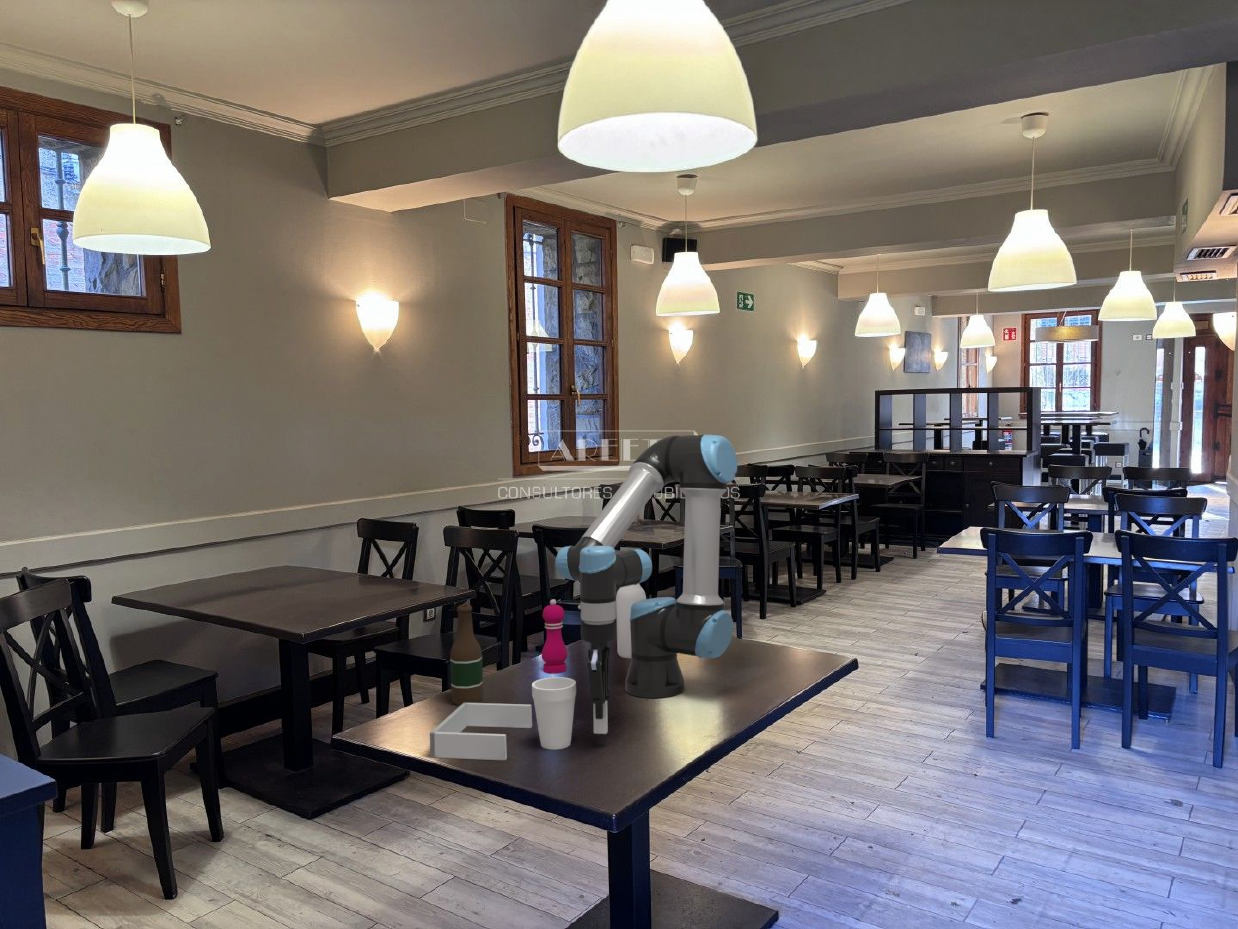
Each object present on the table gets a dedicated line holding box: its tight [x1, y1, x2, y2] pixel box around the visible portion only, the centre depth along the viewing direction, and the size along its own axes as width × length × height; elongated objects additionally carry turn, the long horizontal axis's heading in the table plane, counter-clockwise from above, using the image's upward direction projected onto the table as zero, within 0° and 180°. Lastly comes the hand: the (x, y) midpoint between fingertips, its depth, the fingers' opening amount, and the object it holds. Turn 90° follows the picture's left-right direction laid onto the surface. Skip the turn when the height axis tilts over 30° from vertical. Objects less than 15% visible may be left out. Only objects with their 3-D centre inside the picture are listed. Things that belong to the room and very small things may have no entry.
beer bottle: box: [449, 604, 484, 707], centre depth 212 cm, size 8×8×24 cm
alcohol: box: [616, 583, 647, 659], centre depth 252 cm, size 9×9×30 cm
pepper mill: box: [541, 598, 568, 674], centre depth 238 cm, size 7×7×20 cm
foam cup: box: [531, 676, 577, 751], centre depth 182 cm, size 10×9×13 cm
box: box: [429, 702, 533, 761], centre depth 185 cm, size 16×20×5 cm
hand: (600, 732), depth 180 cm, fingers closed
